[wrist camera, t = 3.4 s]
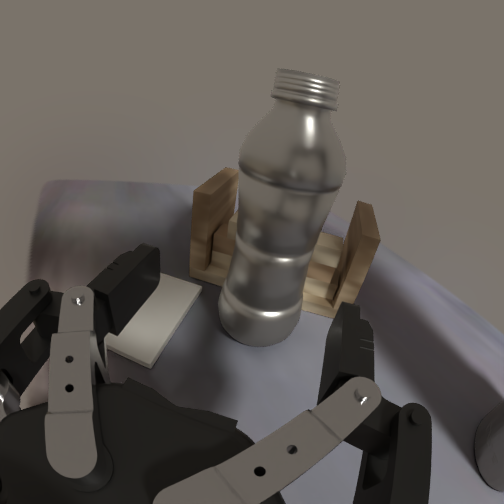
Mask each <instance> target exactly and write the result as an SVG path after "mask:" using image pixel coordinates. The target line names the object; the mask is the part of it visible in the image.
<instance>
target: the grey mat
mask: <svg viewBox="0 0 504 504" xmlns="http://www.w3.org/2000/svg"><path fill="white" fill-rule="evenodd" d="M201 291H202V286H200V285H196V284H193V283H190V282H187V281H184V280H181V279H178V278H175V277H172V276H169V275H166V274H163V273H160V282H159V284H158V287H157V288H156V290H155V291H154V292H153V293H152V294H151V296H150V297H149V298H148V299H147V301H146V302H145V303H144V304H143V305H142V307H141V308H140V309H139V310H138V312H137V313H136V314H135V315H134V316H133V318H132V319H131V320H130V321H129V323H128V324H127V325H126V326H125V328H124V329H123V330H122V331H121V333H120V334H119V335H118V336H115V335H113V334H111V333H109V332H108V334H107V335H106V336H105V338H106V348H107V349H109V350H111V351H113V352H115V353H117V354H119V355H121V356H123V357H126V358H128V359H130V360H132V361H134V362H136V363H138V364H141V365H143V366H145V367H147V368H149V369H151V368H152V367H153V365H154V363H155V362H156V360H157V359H158V357H159V356H160V354H161V353H162V351H163V349H164V348H165V346H166V345H167V343H168V342H169V340H170V339H171V337H172V335H173V334H174V332H175V331H176V329H177V328H178V326H179V325H180V323H181V322H182V320H183V319H184V317H185V316H186V314H187V312H188V311H189V309H190V308H191V306H192V305H193V303H194V302H195V300H196V299H197V297H198V296H199V294H200V293H201Z"/></svg>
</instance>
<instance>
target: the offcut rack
mask: <svg viewBox="0 0 504 504" xmlns="http://www.w3.org/2000/svg"><path fill="white" fill-rule="evenodd" d="M238 179H239V170H235V169H231V168H224V169H223V170H221V171H220V172H219V173H217V174H216V175H214V176H213V177H212V178H210V179H209V180H208V181H206V182H205V183H204V184H202V185H201V186H199V187H198V188H197V189H195V190H194V193H193V208H192V225H191V245H190V270H189V276H190V277H193V278H196V279H199V280H202V281H206V282H209V283H212V284H215V285H218V286H223V283H224V281H225V279H226V277H227V275H228V271H229V267H230V263H231V259H232V255H233V250H234V246H235V239H236V231H237V218H238V210H237V211H236V213H235V214H234V208H235V201H236V194H237V186H238ZM379 243H380V235H379V231H378V228H377V223H376V219H375V215H374V211H373V207H372V205H371V204H367V203H364V202H361V201H357V204H356V208H355V211H354V214H353V217H352V220H351V223H350V226H349V229H348V232H347V235H346V238H345V241H344V244H343V238H341V237H338V236H334V235H331V234H327V233H324V232H321V233H320V235H319V238H318V241H317V244H316V245H315V248H314V252H313V254H312V257H311V260H310V263H309V267H308V272H307V276H306V281H305V285H304V290H303V303H302V309H301V310H304V311H308V312H311V313H315V314H319V315H322V316H326V317H330V318H334V317H335V315H336V313H337V311H338V308H339V306H340V304H341V302H342V301H343V302H347V303H351V304H354V301H355V299H356V297H357V295H358V293H359V290H360V288H361V286H362V284H363V281H364V279H365V277H366V274H367V272H368V270H369V267H370V265H371V263H372V260H373V258H374V255H375V253H376V250H377V248H378V245H379Z"/></svg>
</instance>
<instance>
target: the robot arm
mask: <svg viewBox="0 0 504 504" xmlns="http://www.w3.org/2000/svg"><path fill="white" fill-rule="evenodd" d="M159 282H160V251H159V249H158V248H157V247H154V246H151V245H147V244H144V243H142V244H141V245H139V246H138V247H137V248H136V249H135V250H134V251H133V252H132V251H128V252H126V253H124V254H122V255H120V256H119V257H118V258H116V259H115V260H114V261H113V263H111V264H110V265H109V266H108V267H107V269H106V268H105V269H104V270H103V271H102V272H101V273H100V274H99V275H98V276H97V277H96V278H95V279H94V280H93V281H91V282H90V283H89V284H88V285H87V286H75V287H72V288H70V289H68V290H67V291H66V292H65V293H61V292H54V291H51V290H50V287H49V284H48V283H47V282H46V281H45V280H41V279H37V280H33V281H30V282H29V283H27V284H26V285H25V286H24V287H23V288H22V289H21V290H20V291H19V292H18V293H17V294H16V295H15V296H13V297H12V299H10V300H9V302H7V303H6V305H4V307H3V308H2V309H1V310H0V504H286V503H285V501H284V499H283V497H282V495H281V493H280V491H281V490H282V489H284V488H285V487H286V486H288V485H289V484H291V483H292V482H293V481H295V480H296V479H297V478H299V477H300V476H301V475H303V474H304V473H305V472H306V471H308V470H309V469H310V468H311V467H313V466H314V465H315V464H316V463H318V462H319V461H320V460H321V459H323V458H324V457H325V456H326V455H327V454H328V453H330V452H331V451H332V450H333V449H334V448H335V447H337V446H338V445H339V444H340V443H341V442H342V441H345V442H347V443H349V444H351V445H353V446H355V447H357V448H359V449H361V450H363V454H362V460H361V466H360V471H359V476H358V482H357V486H356V491H355V496H354V500H353V504H428V500H429V489H430V476H431V453H432V422H431V416H430V414H429V412H428V411H427V409H426V408H425V407H423V406H422V405H420V404H417V403H408V404H406V405H404V406H403V407H399V406H397V405H395V404H393V403H391V402H389V401H388V400H386V399H385V398H383V397H382V396H381V391H380V389H379V387H378V386H377V384H376V383H375V381H374V351H373V350H374V343H373V341H374V340H373V330H372V328H371V326H370V324H369V322H368V321H366V320H363V319H360V306H358V305H355V304H351V303H347V302H343V301H342V302H341V304H340V306H339V308H338V311H337V313H336V315H335V317H334V320H333V322H332V324H331V326H330V329H329V331H328V335H327V339H326V346H325V353H324V361H323V368H322V375H321V382H320V388H319V395H318V401H317V406H316V407H315V408H314V409H312V410H306V411H304V412H302V413H301V414H299V415H298V416H297V417H295V418H294V419H292V420H291V421H289V422H288V423H287V424H285V425H284V426H282V427H281V428H279V429H278V430H276V431H275V432H273V433H272V434H270V435H268V436H267V437H265V438H264V439H262V440H261V441H259V442H257V443H256V444H255V443H254V442H253V440H252V439H250V438H249V437H248V436H247V435H246V434H245V433H243V432H242V431H240V430H239V429H237V428H236V425H237V422H238V421H237V420H234V419H231V418H228V417H225V416H222V415H219V414H216V413H213V412H210V411H204V410H197V409H190V408H183V407H178V406H176V405H174V404H172V403H171V402H170V401H168V400H167V399H166V398H164V397H163V396H162V395H160V394H159V393H158V392H156V391H155V390H154V389H152V388H150V387H148V386H145V385H143V384H141V383H139V382H137V381H135V380H133V379H130V378H127V380H126V381H125V383H124V384H121V383H111V382H110V378H109V373H108V362H107V349H106V338H105V336H106V335H107V334H108V332H109V333H111V334H113V335H115V336H118V335H119V334H120V333H121V331H122V330H123V329H124V328H125V326H126V325H127V324H128V323H129V321H130V320H131V319H132V318H133V316H134V315H135V314H136V313H137V312H138V310H139V309H140V308H141V307H142V305H143V304H144V303H145V302H146V301H147V299H148V298H149V297H150V296H151V294H152V293H153V292H154V291H155V290H156V288H157V287H158V284H159ZM32 322H33V323H34V325H35V328H34V329H33V330H32V331H31V332H30V334H29V335H28V336H27V337H26V338H25V339H24V341H23V342H22V343H21V344H20V337H21V335H22V333H23V332H24V331H25V330H26V329H27V328H28V326H29V325H30V324H31V323H32ZM49 357H50V361H49V383H48V402H45V403H42V404H39V405H36V406H33V407H29V408H26V409H23V410H21V408H20V407H19V405H20V396H21V395H22V394H23V392H24V391H25V389H26V388H27V387H28V385H29V384H30V382H31V381H32V380H33V378H34V377H35V375H36V374H37V373H38V371H39V370H40V369H41V367H42V366H43V365H44V363H45V362H46V361H47V359H48V358H49ZM475 456H476V462H477V465H478V468H479V471H480V473H481V474H482V476H483V478H484V480H485V481H486V482H487V483H488V484H489V485H490V486H491V487H492V488H494V489H495V490H498V491H501V492H504V400H503V401H502V402H501V403H500V404H499V405H498V406H497V407H495V408H494V409H493V410H492V411H491V412H490V413H489V414H488V415H486V416H485V417H484V419H483V420H482V421H481V423H480V424H479V426H478V429H477V432H476V437H475Z"/></svg>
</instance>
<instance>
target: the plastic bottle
mask: <svg viewBox="0 0 504 504" xmlns="http://www.w3.org/2000/svg"><path fill="white" fill-rule="evenodd" d="M339 84H340V82H339V81H336V80H334V79H330V78H327V77H323V76H319V75H315V74H310V73H305V72H299V71H294V70H288V69H277V72H276V77H275V83H274V89H273V90H272V91H271V97H272V98H275V99H276V100H275V104H274V107H273V109H272V110H271V111H269V112H268V113H267V114H266V115H265V116H264V117H263V118H262V119H261V120H260V121H259V122H258V123H257V124H256V125H255V126H254V127H253V129H252V130H251V131H250V132H249V133H248V135H247V136H246V138H245V140H244V142H243V144H242V146H241V148H240V152H239V207H238V218H237V231H236V239H235V246H234V250H233V255H232V259H231V263H230V267H229V271H228V275H227V277H226V279H225V281H224V283H223V286H222V289H221V293H220V296H219V300H218V309H219V318H220V321H221V324H222V326H223V327H224V329H225V330H226V331H227V332H228V333H229V334H230V335H231V336H232V337H233V338H234V339H235V340H237V341H239V342H241V343H243V344H245V345H249V346H254V347H266V346H271V345H274V344H277V343H279V342H282V341H283V340H285V339H286V338H287V337H288V336H289V335H290V334H291V333H292V331H293V330H294V328H295V327H296V325H297V323H298V321H299V319H300V314H301V309H302V303H303V290H304V285H305V281H306V276H307V272H308V267H309V263H310V260H311V257H312V254H313V252H314V248H315V245H316V244H317V241H318V238H319V235H320V233H321V230H322V227H323V224H324V222H325V220H326V218H327V216H328V214H329V212H330V210H331V207H332V205H333V203H334V201H335V199H336V197H337V195H338V192H339V189H340V187H341V186H342V183H343V180H344V178H345V175H346V158H345V154H344V150H343V148H342V145H341V142H340V139H339V137H338V135H337V132H336V130H335V128H334V126H333V124H332V122H331V111H332V110H333V111H337V108H338V104H337V98H338V93H339V88H340V85H339Z"/></svg>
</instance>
